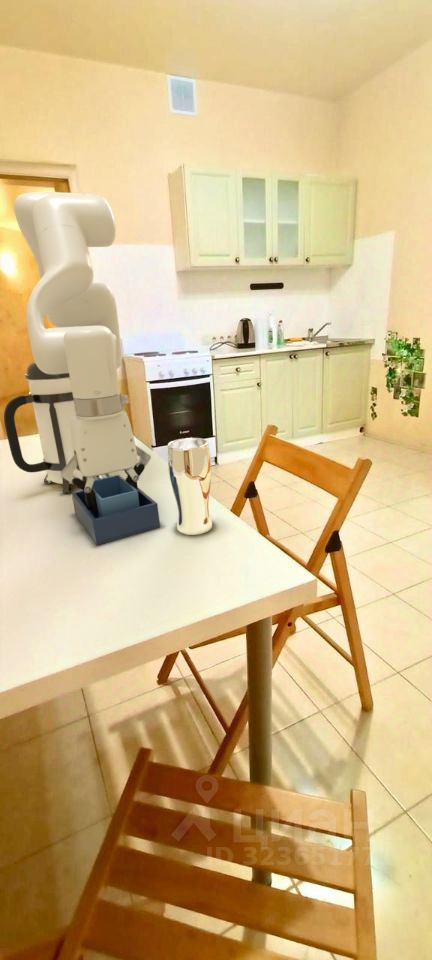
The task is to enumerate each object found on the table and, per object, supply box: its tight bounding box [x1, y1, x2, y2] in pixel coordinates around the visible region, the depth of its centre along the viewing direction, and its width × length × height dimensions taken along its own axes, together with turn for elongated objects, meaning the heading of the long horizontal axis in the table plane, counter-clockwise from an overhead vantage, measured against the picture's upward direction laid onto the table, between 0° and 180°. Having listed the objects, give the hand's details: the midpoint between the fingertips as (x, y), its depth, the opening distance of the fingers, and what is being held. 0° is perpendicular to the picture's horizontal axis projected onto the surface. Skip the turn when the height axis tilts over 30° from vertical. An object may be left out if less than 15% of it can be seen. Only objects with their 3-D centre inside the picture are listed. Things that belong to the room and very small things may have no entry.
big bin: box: [71, 487, 161, 546], centre depth 81 cm, size 15×11×4 cm
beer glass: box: [167, 437, 213, 536], centre depth 74 cm, size 7×7×15 cm
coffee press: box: [3, 361, 111, 494], centre depth 96 cm, size 17×16×30 cm
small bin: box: [92, 474, 140, 517], centre depth 80 cm, size 10×6×4 cm, turn 30°
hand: (113, 504), depth 80 cm, fingers closed on small bin, 6 cm apart
